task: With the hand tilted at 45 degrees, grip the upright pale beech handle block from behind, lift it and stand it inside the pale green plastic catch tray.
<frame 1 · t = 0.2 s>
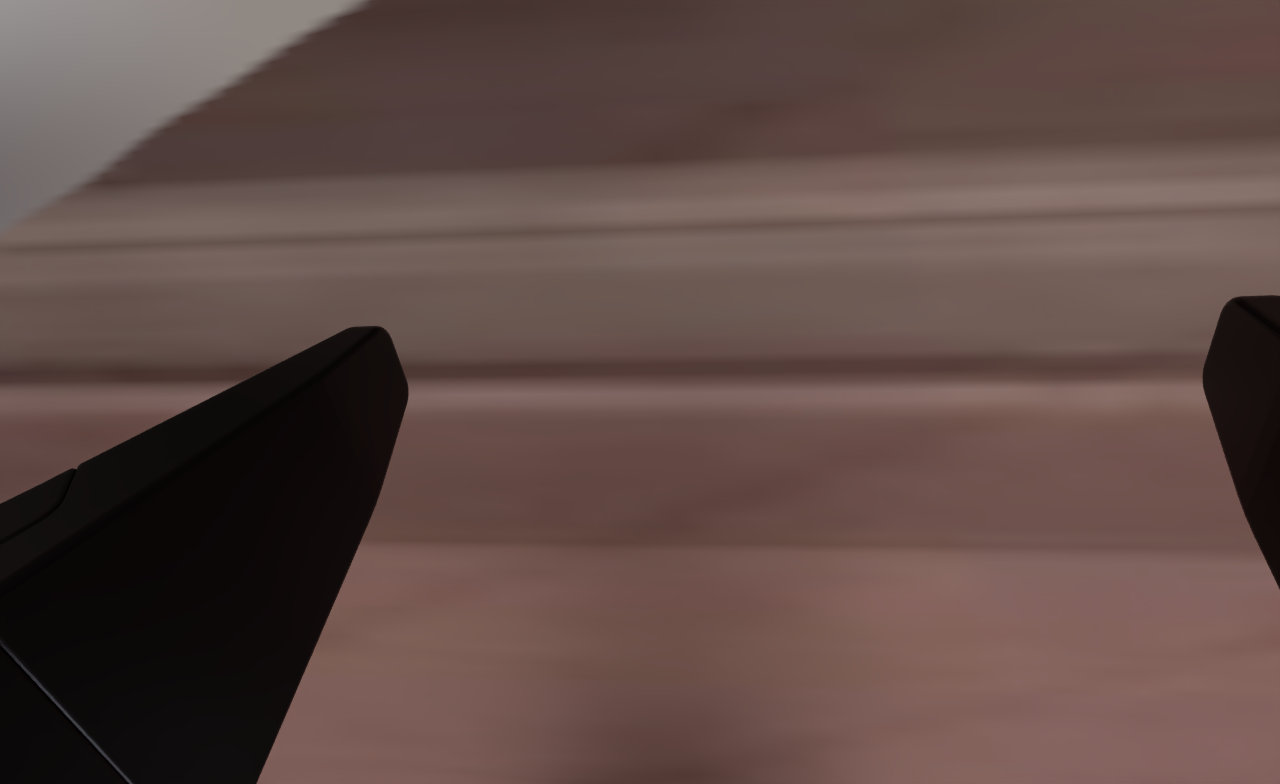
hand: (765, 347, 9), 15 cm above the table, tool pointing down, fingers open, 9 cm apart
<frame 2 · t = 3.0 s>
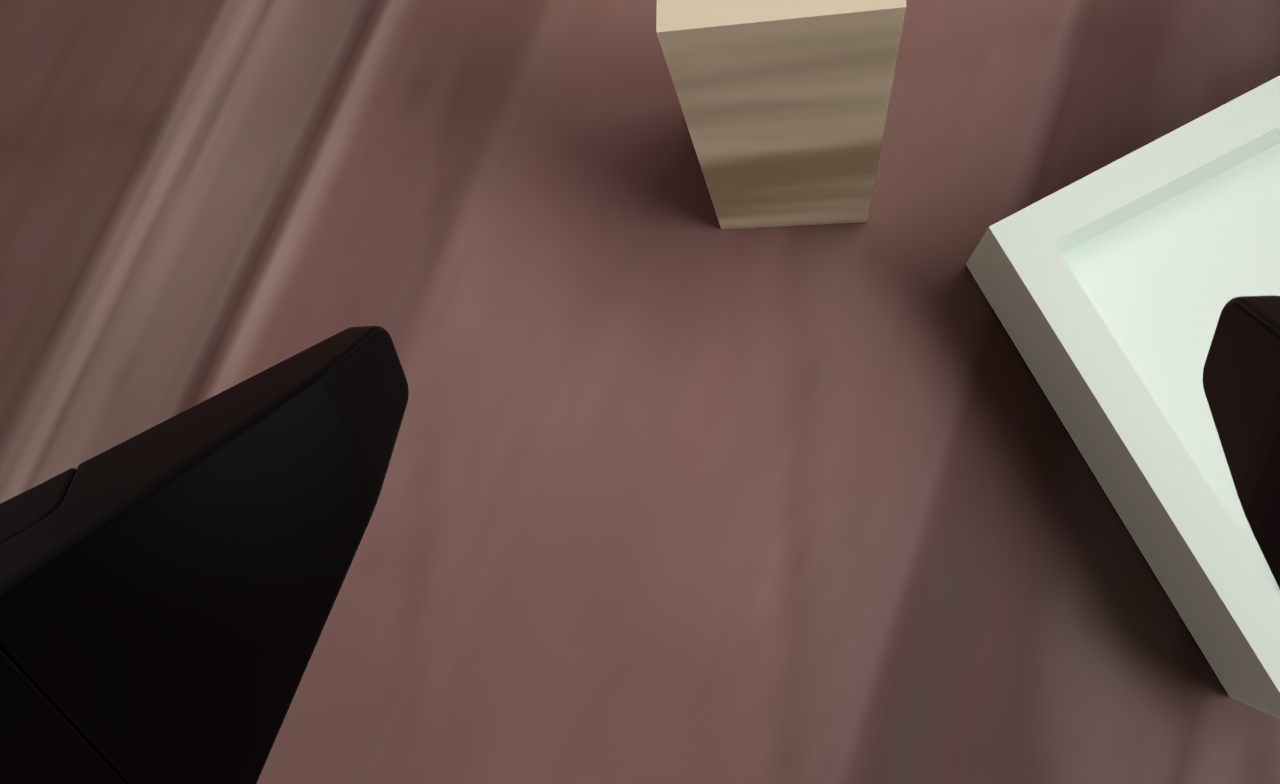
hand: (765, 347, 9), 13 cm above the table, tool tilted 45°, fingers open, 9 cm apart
handle block: (792, 157, 23), on the table
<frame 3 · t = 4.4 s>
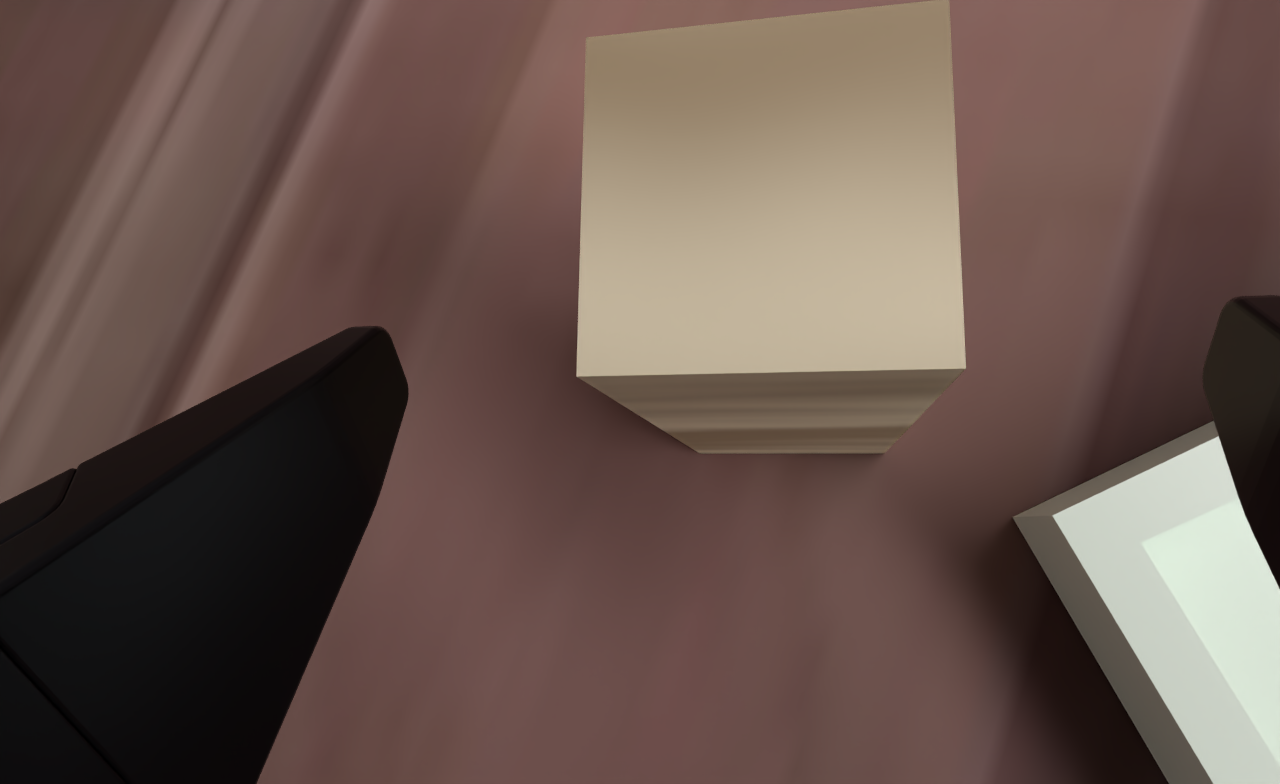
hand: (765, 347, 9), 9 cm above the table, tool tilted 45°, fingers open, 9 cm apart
handle block: (789, 364, 19), on the table
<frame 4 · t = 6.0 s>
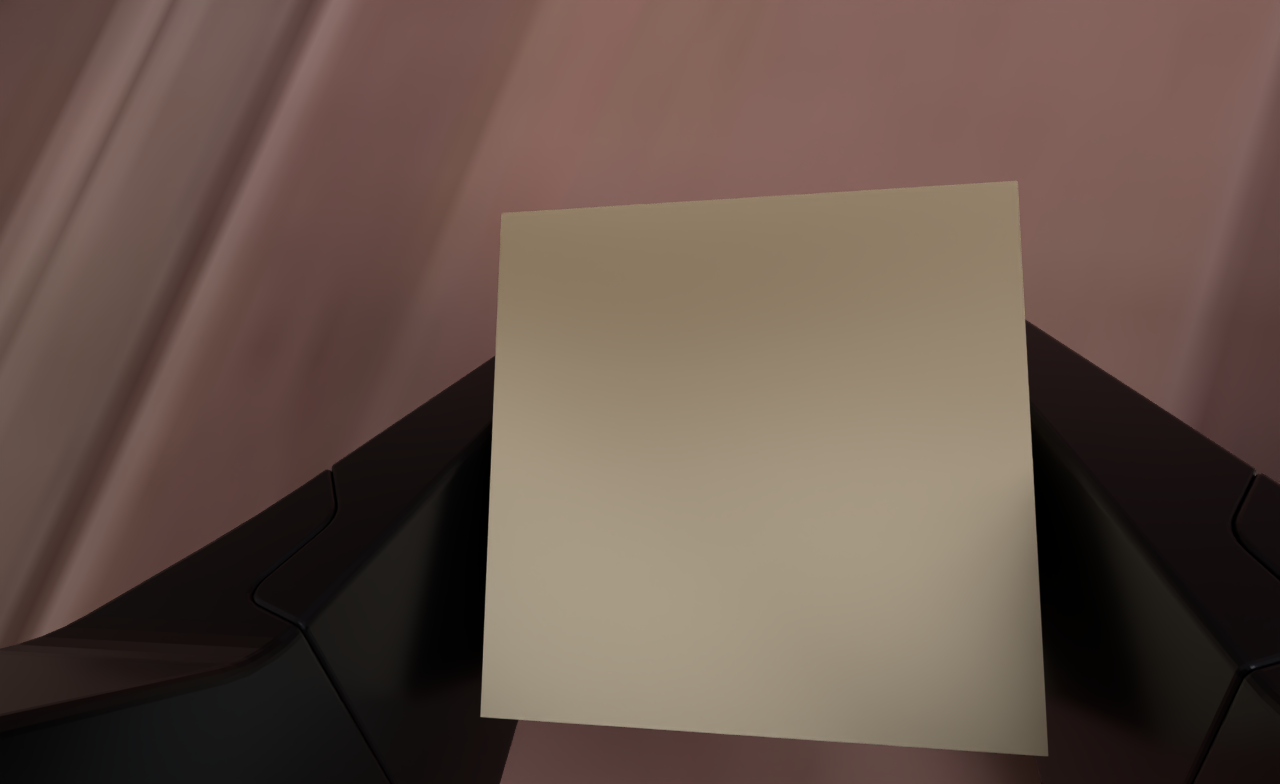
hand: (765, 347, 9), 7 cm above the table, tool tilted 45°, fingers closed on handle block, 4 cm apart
handle block: (787, 492, 16), on the table, touching gripper
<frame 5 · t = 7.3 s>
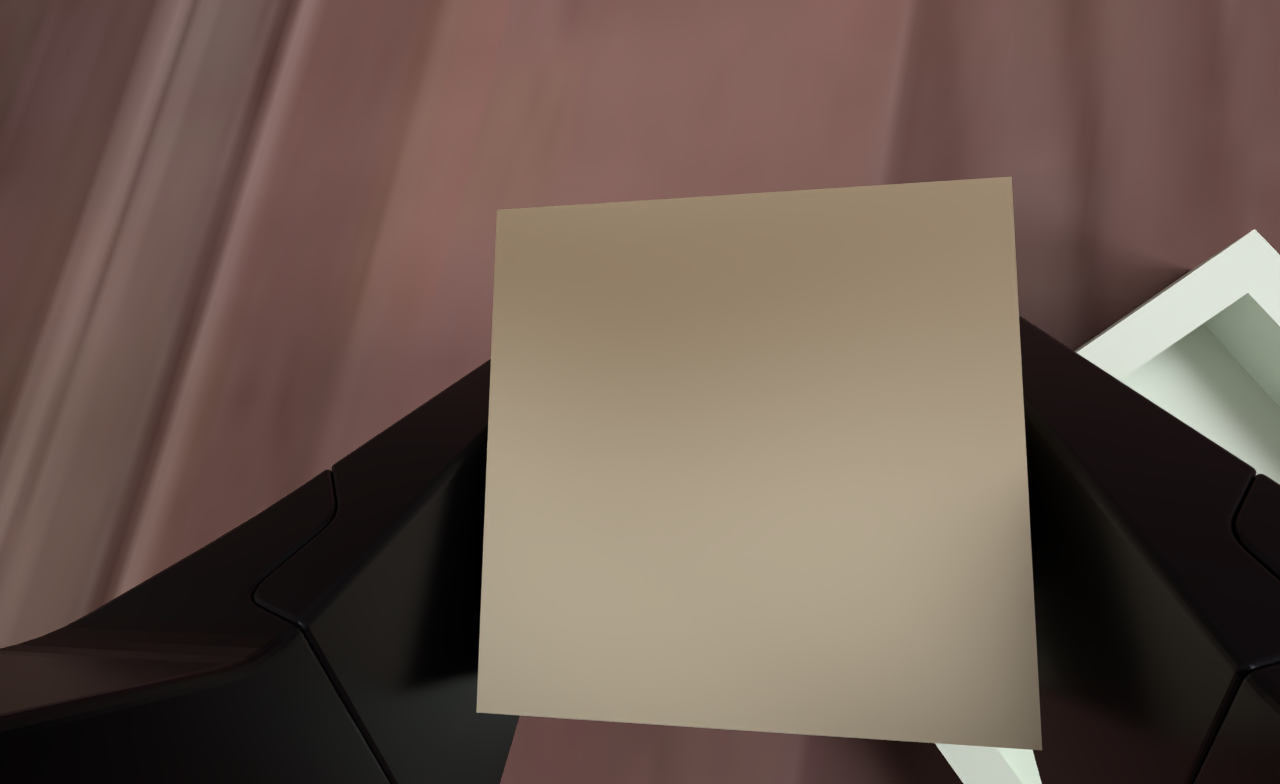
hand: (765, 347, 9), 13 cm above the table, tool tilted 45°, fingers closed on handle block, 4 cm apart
handle block: (785, 490, 16), point 6 cm above the table, touching gripper
catch tray: (1154, 610, 20), on the table
when the fingers open (9 cm above the table, at t = 8.9 s): handle block drops 2 cm, resting on catch tray.
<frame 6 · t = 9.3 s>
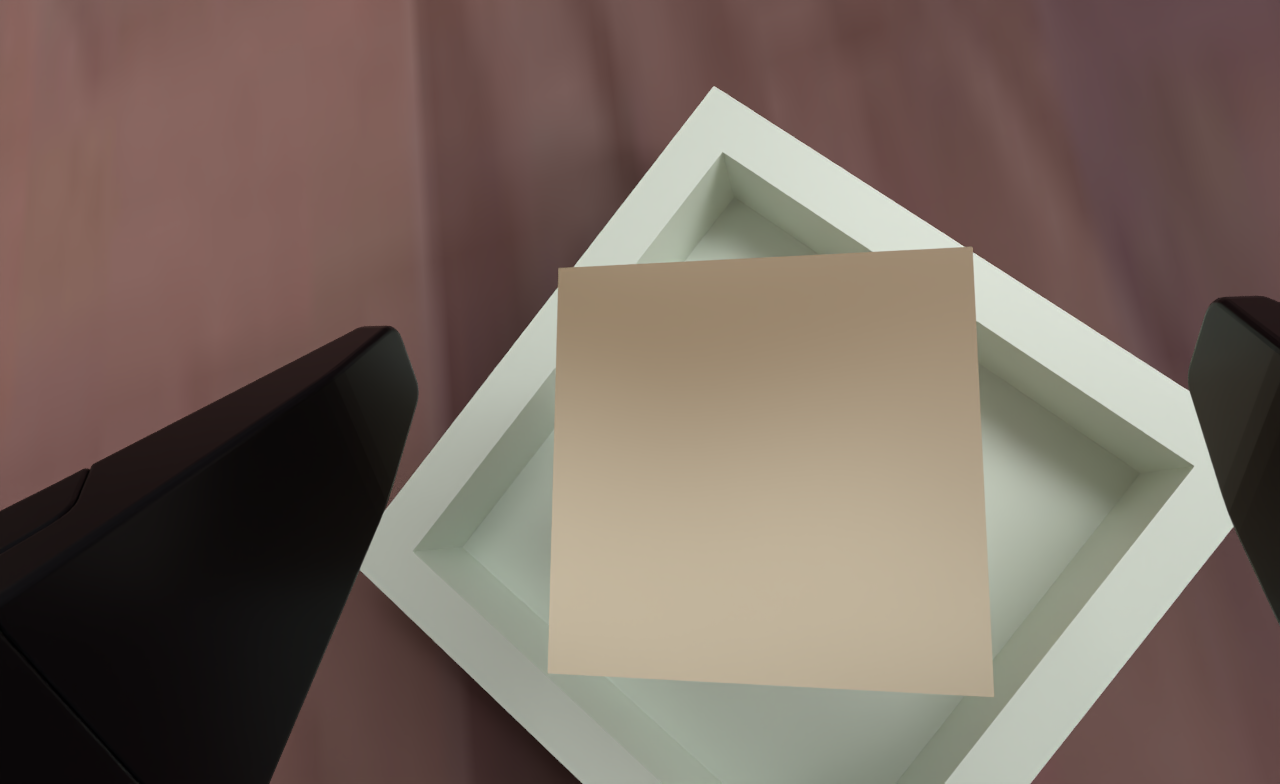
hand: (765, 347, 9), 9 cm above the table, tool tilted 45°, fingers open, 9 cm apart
handle block: (790, 492, 17), point 1 cm above the table, touching catch tray
catch tray: (777, 513, 18), on the table
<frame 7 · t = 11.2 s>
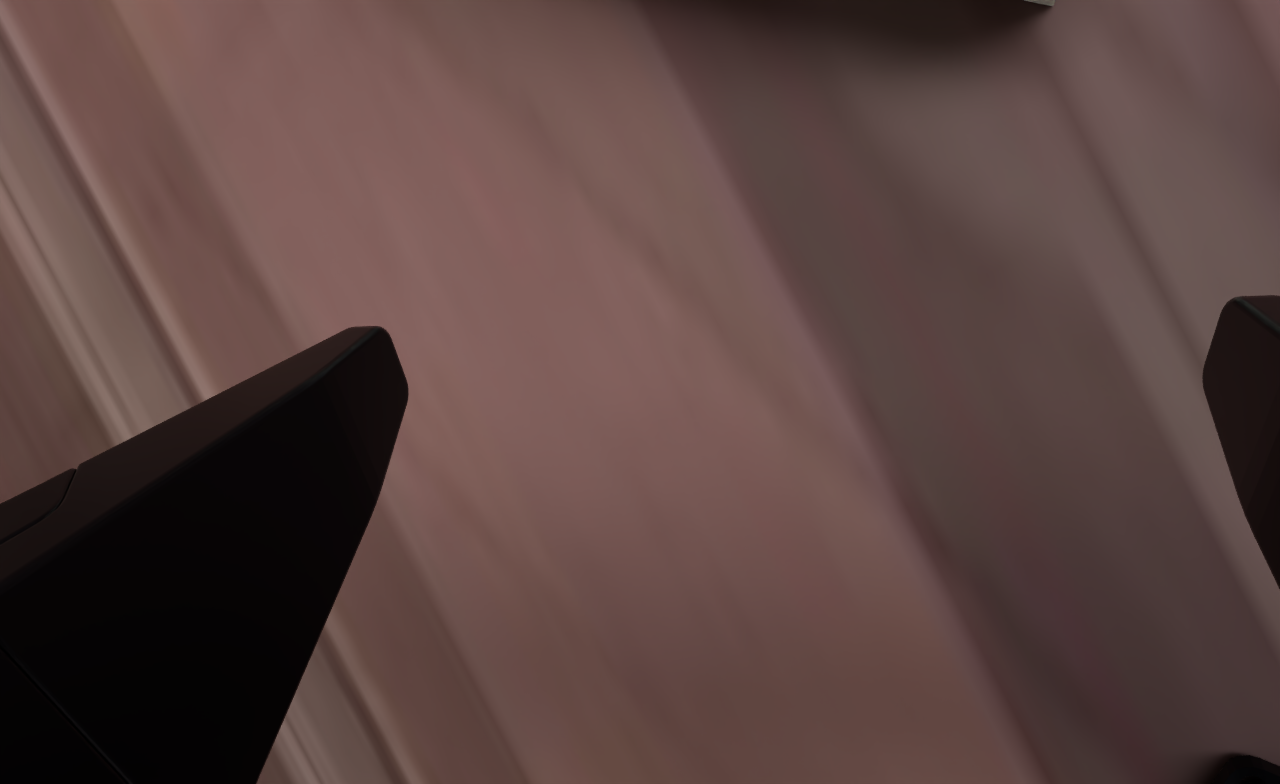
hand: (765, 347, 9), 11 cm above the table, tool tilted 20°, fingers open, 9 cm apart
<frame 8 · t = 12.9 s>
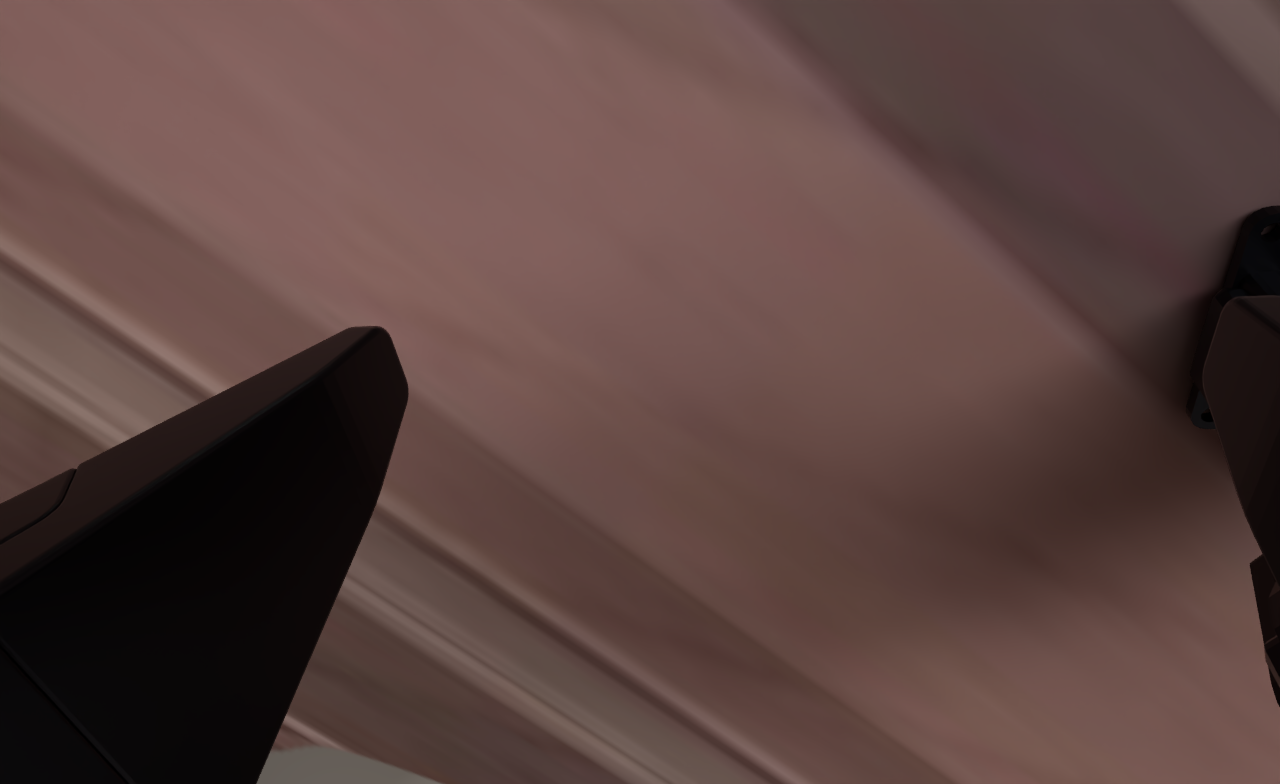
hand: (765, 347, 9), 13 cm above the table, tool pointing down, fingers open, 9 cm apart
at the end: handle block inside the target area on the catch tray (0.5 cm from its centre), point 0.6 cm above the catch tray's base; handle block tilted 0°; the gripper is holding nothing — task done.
